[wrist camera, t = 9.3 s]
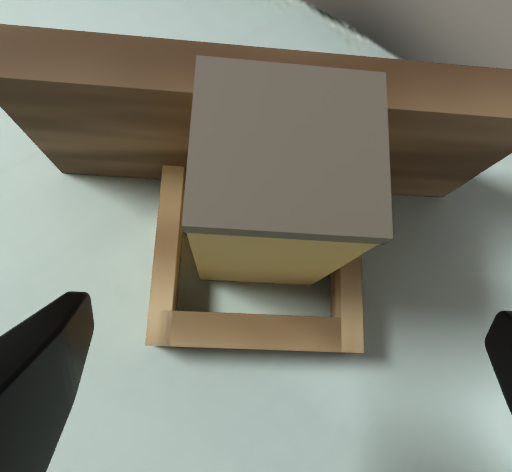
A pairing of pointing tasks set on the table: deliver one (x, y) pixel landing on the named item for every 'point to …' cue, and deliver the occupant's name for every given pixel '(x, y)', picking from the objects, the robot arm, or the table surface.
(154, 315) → the wall board
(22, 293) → the table surface
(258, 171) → the grey-topped square block
